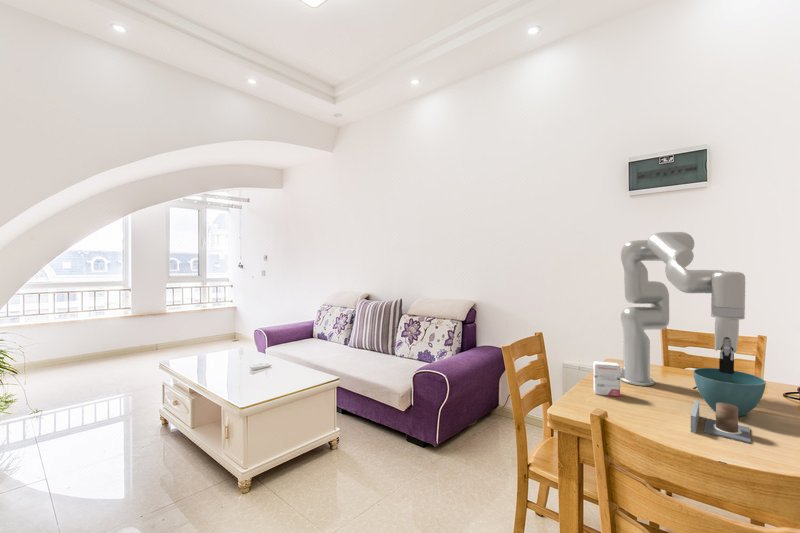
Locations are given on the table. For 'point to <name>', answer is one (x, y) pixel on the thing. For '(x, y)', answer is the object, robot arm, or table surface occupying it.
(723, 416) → the walnut block
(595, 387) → the ink box
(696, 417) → the divider wall
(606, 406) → the table surface
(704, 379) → the teal bowl
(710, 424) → the mat
